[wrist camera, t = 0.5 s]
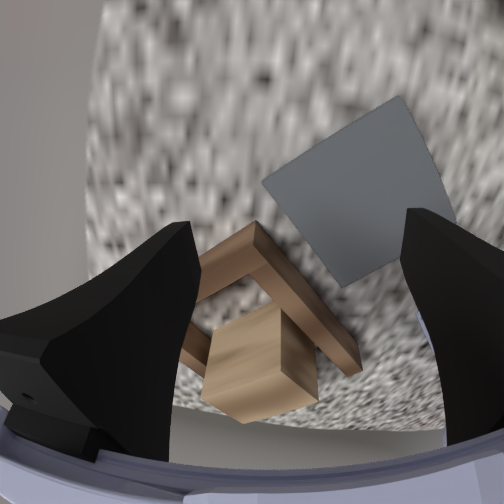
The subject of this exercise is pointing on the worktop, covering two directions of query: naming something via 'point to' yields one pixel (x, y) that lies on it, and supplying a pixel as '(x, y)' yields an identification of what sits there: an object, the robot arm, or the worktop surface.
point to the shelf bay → (278, 288)
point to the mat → (360, 191)
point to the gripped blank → (260, 366)
